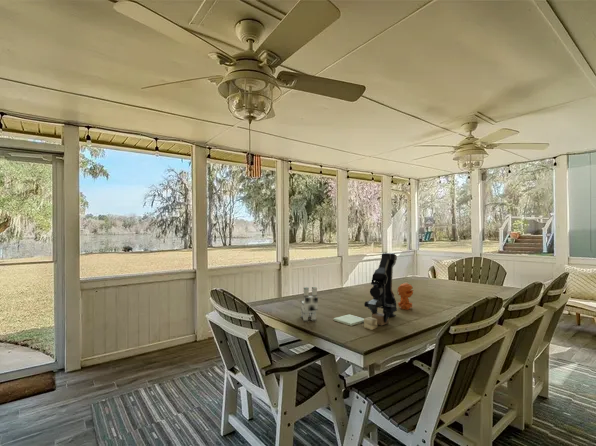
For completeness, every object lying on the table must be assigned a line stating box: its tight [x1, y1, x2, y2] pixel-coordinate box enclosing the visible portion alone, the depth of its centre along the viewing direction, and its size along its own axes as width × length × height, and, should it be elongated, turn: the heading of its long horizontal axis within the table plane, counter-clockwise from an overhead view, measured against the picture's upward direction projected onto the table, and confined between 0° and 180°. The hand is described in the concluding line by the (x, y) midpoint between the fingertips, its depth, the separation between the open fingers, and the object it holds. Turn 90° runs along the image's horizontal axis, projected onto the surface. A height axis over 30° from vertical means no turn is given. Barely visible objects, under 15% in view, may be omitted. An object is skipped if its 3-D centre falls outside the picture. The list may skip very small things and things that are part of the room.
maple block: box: [363, 316, 378, 331], centre depth 173 cm, size 5×5×5 cm
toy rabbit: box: [300, 286, 319, 322], centre depth 190 cm, size 8×18×20 cm, turn 10°
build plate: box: [332, 313, 365, 326], centre depth 186 cm, size 14×14×1 cm
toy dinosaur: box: [396, 282, 414, 311], centre depth 214 cm, size 11×11×18 cm
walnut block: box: [371, 311, 389, 326], centre depth 180 cm, size 6×6×5 cm
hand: (380, 321), depth 180 cm, fingers closed on walnut block, 6 cm apart
